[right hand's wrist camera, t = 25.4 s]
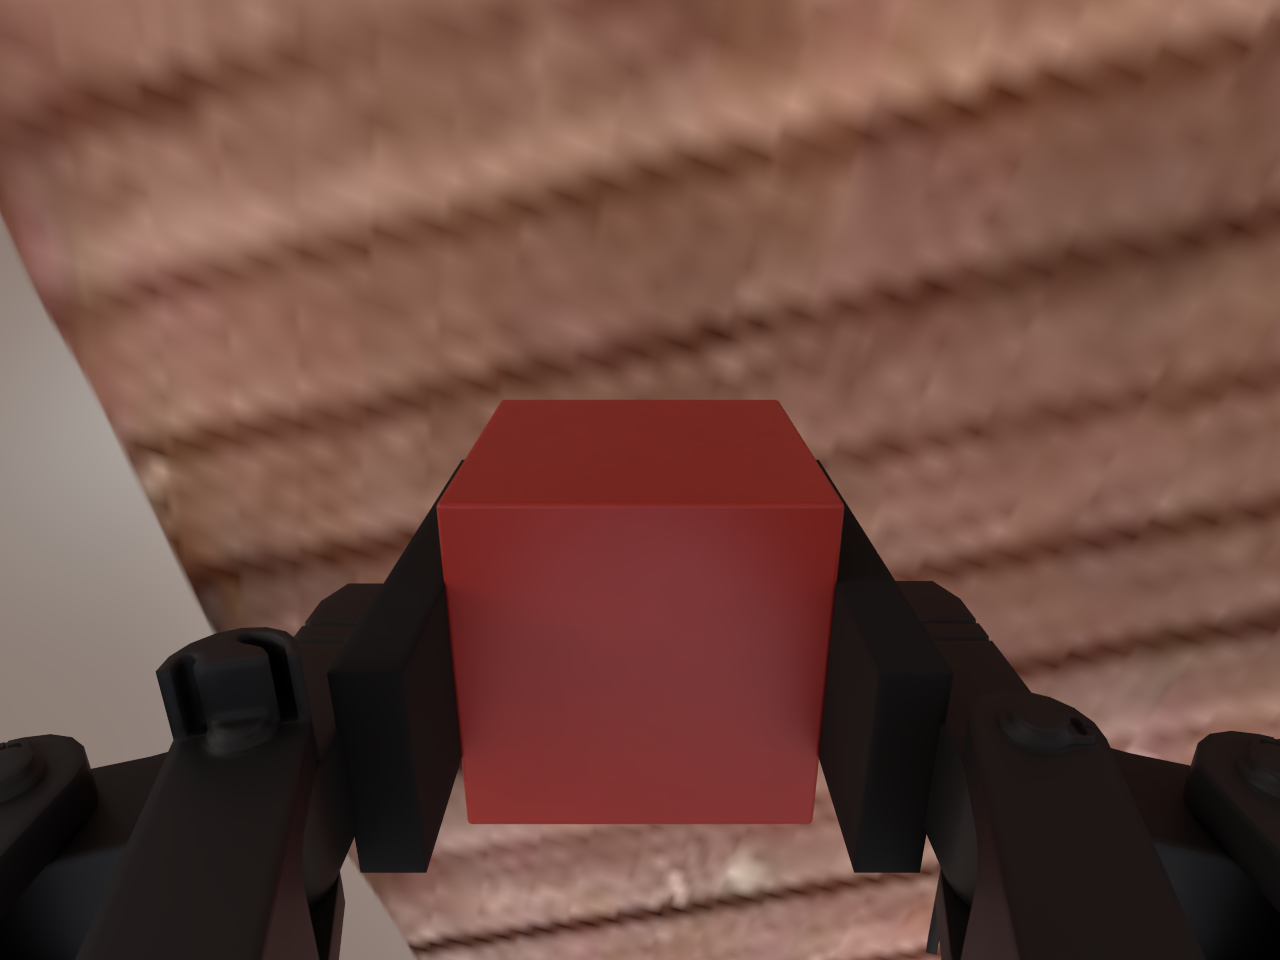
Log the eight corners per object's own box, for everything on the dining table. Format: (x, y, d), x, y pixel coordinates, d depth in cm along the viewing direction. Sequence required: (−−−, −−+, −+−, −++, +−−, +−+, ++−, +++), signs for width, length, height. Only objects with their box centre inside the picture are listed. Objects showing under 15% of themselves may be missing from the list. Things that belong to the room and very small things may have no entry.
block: (501, 399, 14) (434, 503, 9) (778, 399, 14) (846, 504, 9) (516, 640, 16) (467, 826, 11) (763, 640, 16) (813, 825, 11)
